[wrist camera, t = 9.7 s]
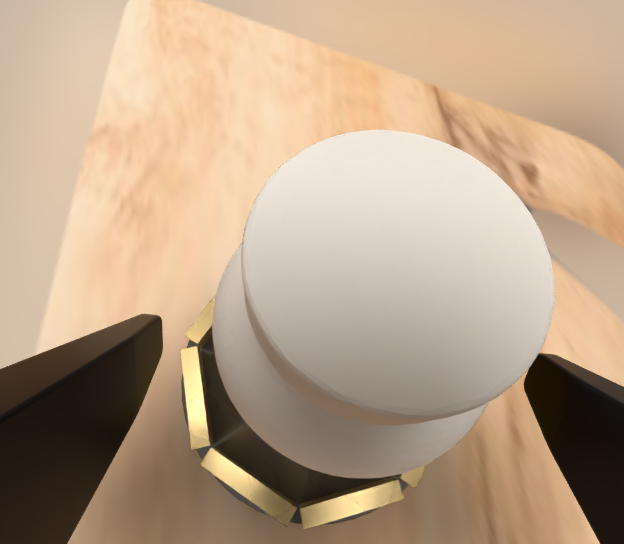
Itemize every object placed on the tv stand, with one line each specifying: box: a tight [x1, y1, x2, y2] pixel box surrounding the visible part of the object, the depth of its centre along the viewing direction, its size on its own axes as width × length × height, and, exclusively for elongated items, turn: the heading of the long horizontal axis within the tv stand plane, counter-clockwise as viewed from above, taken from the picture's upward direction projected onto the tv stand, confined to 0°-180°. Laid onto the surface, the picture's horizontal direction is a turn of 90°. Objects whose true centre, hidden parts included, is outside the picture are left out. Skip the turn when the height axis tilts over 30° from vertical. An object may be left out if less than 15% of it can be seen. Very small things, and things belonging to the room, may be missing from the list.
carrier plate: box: [180, 295, 426, 530], centre depth 17 cm, size 12×12×2 cm
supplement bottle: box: [212, 130, 555, 478], centre depth 11 cm, size 7×7×13 cm
